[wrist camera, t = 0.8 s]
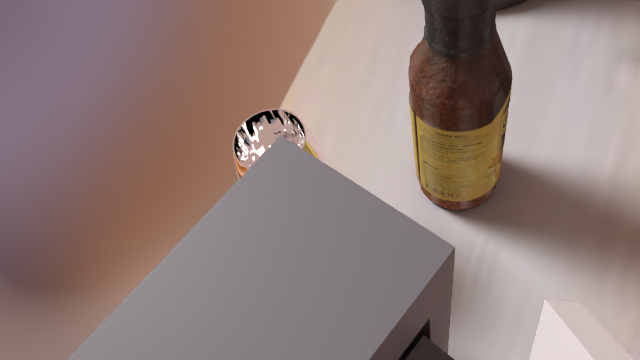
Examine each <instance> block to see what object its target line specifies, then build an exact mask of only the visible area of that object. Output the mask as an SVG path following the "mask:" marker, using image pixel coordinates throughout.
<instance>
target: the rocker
mask: <svg viewBox="0 0 640 360" xmlns="http://www.w3.org/2000/svg"><path fill="white" fill-rule="evenodd" d="M398 360H454V359H453V358H452V357H450V356H449V355H448V354H447V353H446V352H444V351H443V350H442V349H441V348H439V347H438V346H437V345H436V344H434V343H433V342H432V341H431V340H429V339H428V338H427V337H426V336H424V335H423V336H422V337H421V338H419V339H418V340H417V341H416V342H414V343H413V344H412V345H411V346H409V347H408V348H407V349H406V350H405V351H404V352H403V354H402V355H401V356H400V358H399V359H398Z"/></svg>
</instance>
